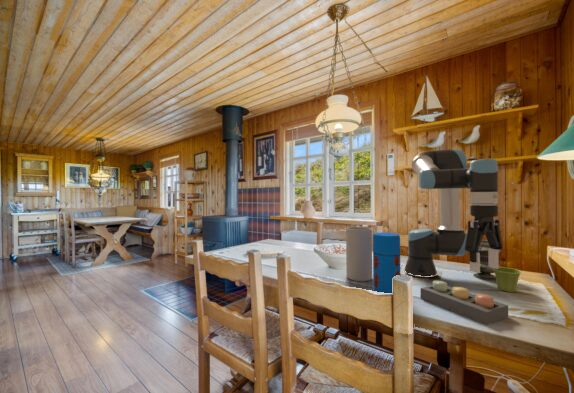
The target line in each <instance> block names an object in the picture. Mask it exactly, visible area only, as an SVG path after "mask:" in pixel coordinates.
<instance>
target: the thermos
mask: <svg viewBox="0 0 574 393" xmlns="http://www.w3.org/2000/svg"><path fill="white" fill-rule="evenodd" d="M400 236H401V235H400V234H399V233H395V232H374V233H373V232H372V279H373V280H372V282H373V283H372V284H373V292H374V291H377V292H384V293H392V278H393V277H394V276H396V275H400V276H401V237H400Z"/></svg>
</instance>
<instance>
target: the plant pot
mask: <svg viewBox="0 0 574 393" xmlns="http://www.w3.org/2000/svg"><path fill="white" fill-rule="evenodd" d="M493 270H494V273H493V274H495V275H494V276H496V280H495V282H496V285H497V287H496V288H497V289H498V290H500V291H503V292H507V293H515V292H517V286H518V281H519V277H520V274H522V271H521V270H518V269H516V268H511V267H507V266H506V267H504V266H501V267H499V269H496V268H493Z"/></svg>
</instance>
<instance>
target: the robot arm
mask: <svg viewBox="0 0 574 393" xmlns="http://www.w3.org/2000/svg"><path fill="white" fill-rule="evenodd" d="M411 168H412V170H413V171H414V172H415V173H416V174H418V187H419V188H420V189H423V190H424V189H426V190H436V189H437V190H439V226H438V227H437V228H436V231H434V230H433V229H432V228H418V229H412V230H410V231H408V233H407V244H408V245H407V261H406V264H405V266H404V272H405V271H406V272H407V273H411V274H413V275H421V276H431V275H436V274H437V275H438V270H437V268H436V265H435V263H434V256H436V255H437V256H451V257H464V256H465V255H466V254H467V253H469V271H470V272H473V273H480V253H478V250H479V247H480V244H481V241H482V240H483V238H484V237H483V236H486V237H485V238H486V240H488V243H489V246H490V248H492V249H490V248H489V249H488V266H489V267H491V268H496V269H499V265H500V264H499V263H500V262H499V254H498V249H499V250H501V251H503V239H502V235H501V230H500V220H499V219H494V218H496V217H498V216H499V206H498V205H497V204H498V203H499V202H498V201H499V198H500V197H499V194H498V192H499V190H498V188H499V186H498V185H499V183H498V182H499V179H498V178H499V173H498V172H499V168H498V160H496V158H495V159H494V158H480V159H474V160H471V161H470V163H469V168H468V160H467V156H466V153H465V152H464V150H462V149H459V148H458V149H456V148H455V149H453V148H449V149H438V150H436V149H435V150H427V151H423V152H420V153H419V154H417V155H415V156H414V157H413V159H412V161H411ZM460 189H469V191H470V193H469V194H470V196H469V197H470V200H469V201H470V202H469V203H470V204H471V205H470V206H469V208H470V212H469V213H470V216H471V217H474V219H473V220H468V222H467V233H466V232H465V230H464V228H463V227H461V207H460V206H461V204H460V202H461V201H460V200H461V199H460Z"/></svg>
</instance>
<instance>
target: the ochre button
mask: <svg viewBox="0 0 574 393" xmlns="http://www.w3.org/2000/svg"><path fill="white" fill-rule="evenodd" d="M469 291H470V290H469V289H468V288H466V287H462V286H453V288H452V296H453V297H456V298H459V299H462V300H467V299H469V293H470V292H469Z"/></svg>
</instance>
